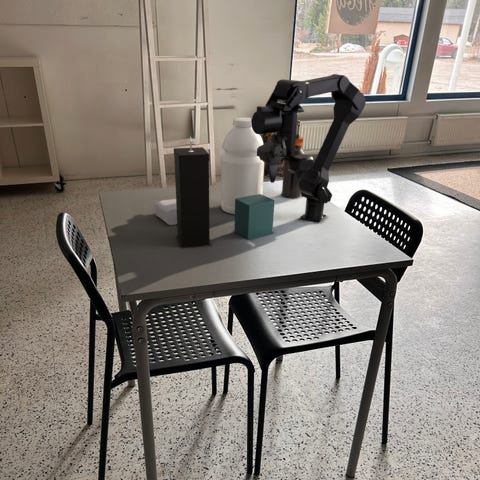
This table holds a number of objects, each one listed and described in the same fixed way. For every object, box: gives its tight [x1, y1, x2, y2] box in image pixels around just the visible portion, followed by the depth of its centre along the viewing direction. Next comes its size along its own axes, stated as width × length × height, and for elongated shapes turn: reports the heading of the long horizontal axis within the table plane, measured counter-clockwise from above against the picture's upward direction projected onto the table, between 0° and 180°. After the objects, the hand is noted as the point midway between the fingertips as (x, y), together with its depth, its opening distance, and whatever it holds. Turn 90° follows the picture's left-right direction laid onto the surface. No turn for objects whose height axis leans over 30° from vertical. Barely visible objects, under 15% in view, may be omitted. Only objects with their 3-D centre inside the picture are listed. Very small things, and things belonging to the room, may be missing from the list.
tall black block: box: [173, 136, 211, 248], centre depth 133 cm, size 8×8×28 cm
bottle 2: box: [281, 136, 305, 199], centre depth 173 cm, size 7×7×20 cm
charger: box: [154, 198, 177, 226], centre depth 156 cm, size 5×9×15 cm
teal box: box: [233, 194, 276, 240], centre depth 145 cm, size 9×7×10 cm
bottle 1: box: [219, 116, 265, 215], centre depth 158 cm, size 14×14×28 cm
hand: (282, 186), depth 145 cm, fingers open, 9 cm apart
